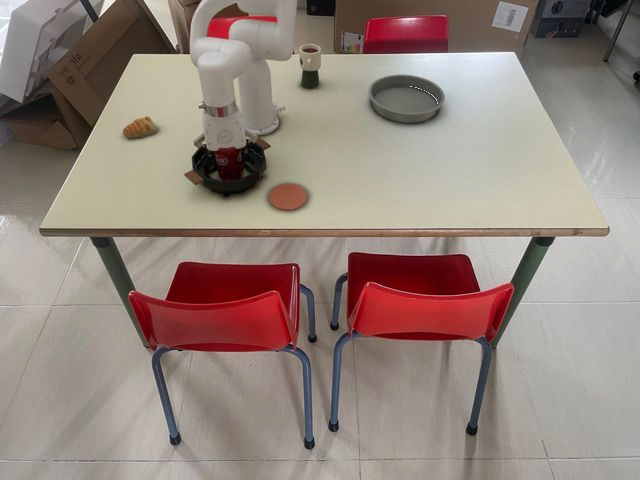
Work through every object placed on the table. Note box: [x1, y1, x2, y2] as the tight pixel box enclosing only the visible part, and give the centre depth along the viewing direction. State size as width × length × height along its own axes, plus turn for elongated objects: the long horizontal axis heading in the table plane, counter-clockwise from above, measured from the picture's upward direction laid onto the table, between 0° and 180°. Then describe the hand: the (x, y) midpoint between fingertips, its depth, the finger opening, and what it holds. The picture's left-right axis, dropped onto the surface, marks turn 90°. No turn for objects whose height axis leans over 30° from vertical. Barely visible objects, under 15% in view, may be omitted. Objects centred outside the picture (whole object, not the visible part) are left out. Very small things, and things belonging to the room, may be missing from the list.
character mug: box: [298, 43, 322, 89], centre depth 159 cm, size 11×7×13 cm, turn 176°
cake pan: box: [368, 74, 446, 124], centre depth 155 cm, size 25×25×4 cm
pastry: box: [122, 115, 157, 139], centre depth 142 cm, size 9×7×4 cm
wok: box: [183, 136, 272, 198], centre depth 128 cm, size 24×19×6 cm
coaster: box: [268, 183, 308, 212], centre depth 125 cm, size 10×10×1 cm
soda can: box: [214, 146, 246, 181], centre depth 126 cm, size 7×7×12 cm
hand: (229, 163), depth 127 cm, fingers closed on soda can, 7 cm apart
